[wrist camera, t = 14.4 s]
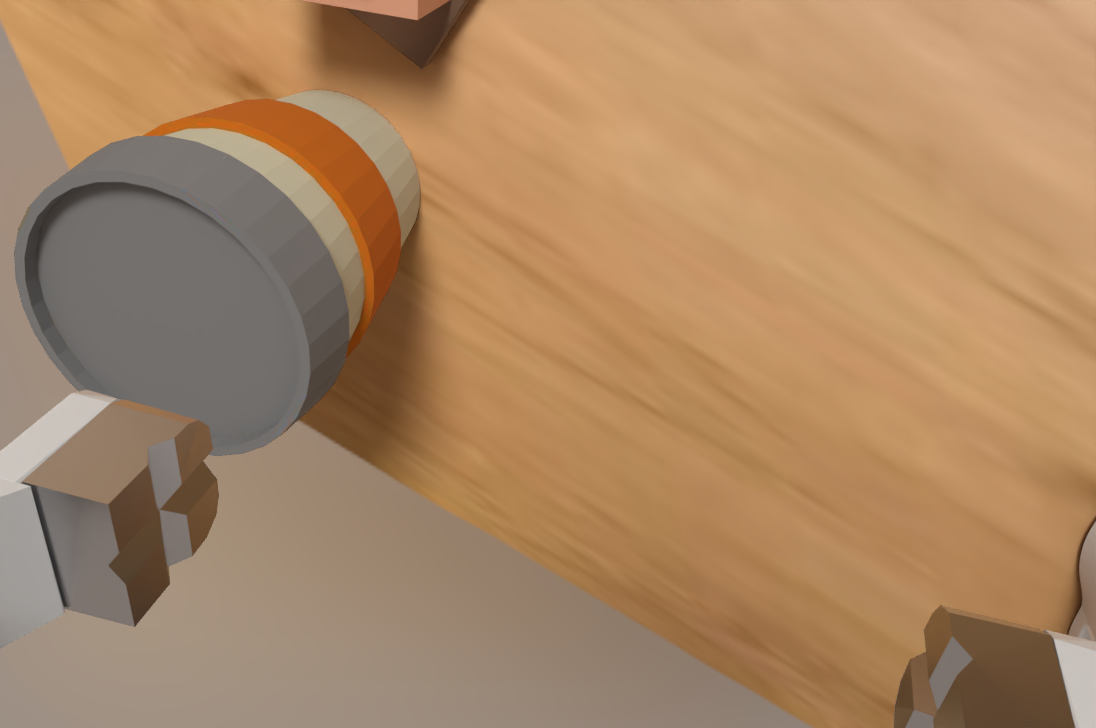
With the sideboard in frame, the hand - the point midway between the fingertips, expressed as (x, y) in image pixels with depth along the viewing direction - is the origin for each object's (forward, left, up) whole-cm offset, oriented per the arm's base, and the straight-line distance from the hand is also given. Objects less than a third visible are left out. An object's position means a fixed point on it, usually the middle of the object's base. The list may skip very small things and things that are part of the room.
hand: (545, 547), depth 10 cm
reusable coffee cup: (+10, +20, -33) cm, 40 cm away
